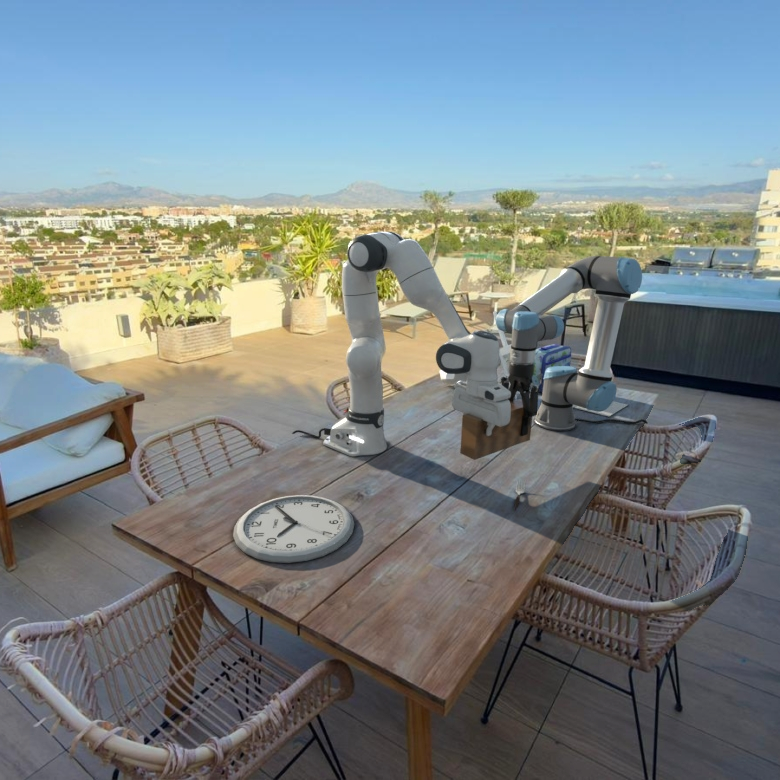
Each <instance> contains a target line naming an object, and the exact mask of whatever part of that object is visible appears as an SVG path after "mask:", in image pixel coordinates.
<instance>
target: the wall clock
mask: <svg viewBox="0 0 780 780" xmlns="http://www.w3.org/2000/svg"><path fill="white" fill-rule="evenodd" d="M354 528H355V521H354V517H353V514H352V513H351V512H350V510H348V509H347V507H345V506H343V505H342V504H340V503H339V502H337V501H335V500H333V499H332V500H331V499H328V498H327V497H322V496H317V495H305V494H297V495H286V496H281V497H277V498H272V499H269V500H266V501H264V502H261V503H259V504H256V505H255V506H253V507H252V508H250V509H249V510H247V511H246V512H245V513H243V514H242V516H241V517H239V518H238V520H237V522H236V524H235V525H234V527H233V533H232V536H233V537H232V538H233V540H234V542H235V545H236V547H237V548H239V549H240V550H241V551H242V552H243V553H244V554H246V555H248V556H250V557H252V558H254V559H255V560H261V561H265V562H270V563H283V564H284V563H285V564H292V563H301V562H308V561H311V560H315V559H318V558H321V557H325V556H326V555H328V554H331V553H333V552H335V551H337V550H338V549H339V548H341V547H342V546H343V545H345V544H346V543H347V542H348V541H349V540H350V538H351V537H352V535H353V534H354Z"/></svg>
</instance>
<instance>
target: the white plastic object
mask: <svg viewBox="0 0 780 780" xmlns="http://www.w3.org/2000/svg"><path fill="white" fill-rule="evenodd" d="M492 315H493V319H494V321H495V322H496V317H497V315H498V312H497V311H496V310H495V311H492ZM496 328H497V332H498V335H499V338H500V342H501V345H502V347H499V365H498V368H499V367H500V366H502V370H503V373H504V377H505V376H509V375H510V374H509V364H508V361H511V360H510V352H511V343H510V344H508V341H507V337H506V334H505V331H501V330H499V329H498V327H497V326H496ZM438 372H439V376H440V381H442V383H443V384H444V385H445V386H449V385H455V384H456V383H457V382H458V381H464V382H467V374H466V373H462V374H448V373H445V372H443V371H442V370H441V369H440V370H439V371H438ZM510 385H511V384H510V382H509V388H510ZM525 392H526V391H525ZM529 396H530V394H529ZM514 400H517V394H516V395H515V397H514Z"/></svg>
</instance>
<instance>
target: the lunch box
mask: <svg viewBox="0 0 780 780" xmlns="http://www.w3.org/2000/svg"><path fill="white" fill-rule="evenodd" d="M571 361H572V348H571V347H570V346H567V345H566V346H565V345H561V344H556V343H555V344H554V343H553V344H548V345H545V346H541V347H539V348H536V353H535V362H534V363H533V364H534V372H533V376H532V381H533V383H534V384H535V385H540V389H539V392H538V393H540V394H542V391H543V381H544V379H543V378H544V375H545V371H546V369H547V368H549V367H555V366H571ZM529 389H531V387H530V388H529Z"/></svg>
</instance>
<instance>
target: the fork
mask: <svg viewBox="0 0 780 780" xmlns="http://www.w3.org/2000/svg"><path fill="white" fill-rule="evenodd" d="M526 484H527V481H525V482H524V483H522V480H519V479H518V480H517V484H516V486H515V487H516V488H515V492H516V493H517V496H516V498H515V500H514V511H516V510H517V508H518V506H519V505H520V502H521V501H520V500H521V495H522V494H525V492H526Z"/></svg>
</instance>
